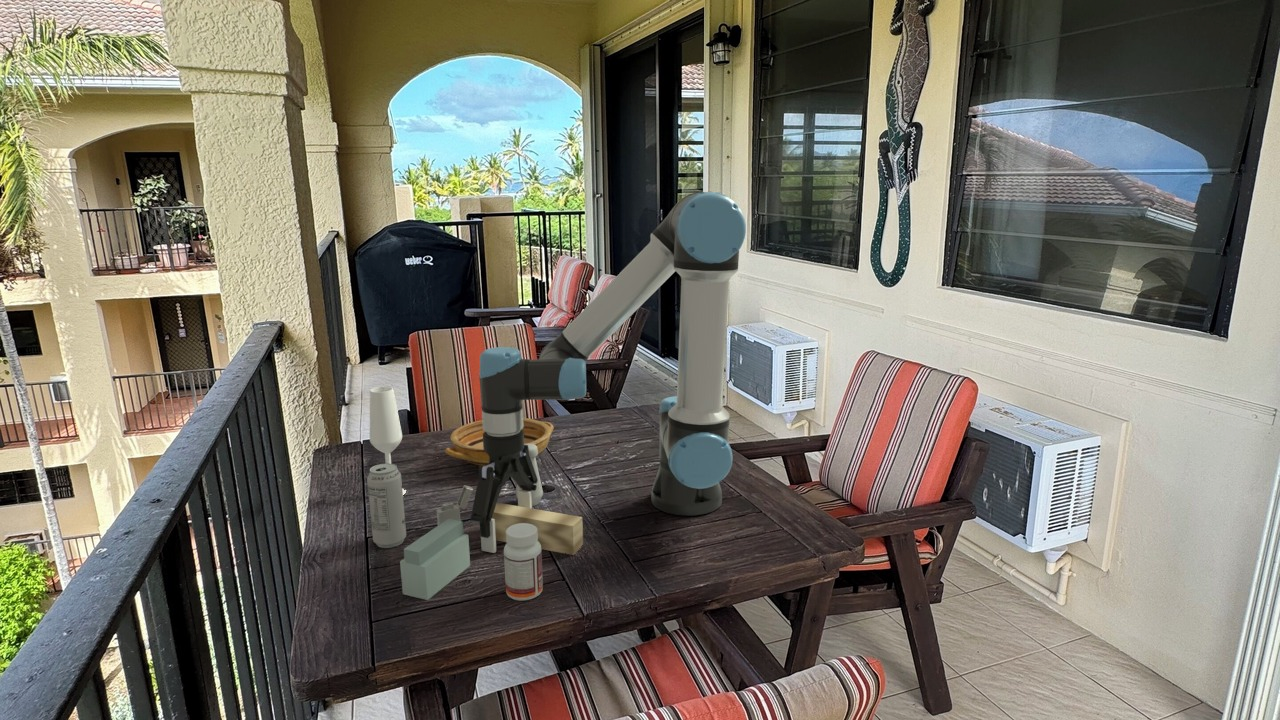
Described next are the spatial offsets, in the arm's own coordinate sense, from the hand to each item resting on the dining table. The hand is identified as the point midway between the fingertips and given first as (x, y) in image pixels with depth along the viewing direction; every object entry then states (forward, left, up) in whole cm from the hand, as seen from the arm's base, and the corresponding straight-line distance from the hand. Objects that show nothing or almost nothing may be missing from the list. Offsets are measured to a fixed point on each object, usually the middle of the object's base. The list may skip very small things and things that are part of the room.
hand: (508, 535), depth 140 cm
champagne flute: (+35, -8, 0) cm, 36 cm away
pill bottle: (-13, +16, 0) cm, 21 cm away
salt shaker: (+4, -15, 0) cm, 16 cm away
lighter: (+12, 0, 0) cm, 12 cm away
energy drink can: (+20, +10, 0) cm, 22 cm away
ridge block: (+3, +18, 0) cm, 18 cm away
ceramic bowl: (+22, -33, 0) cm, 40 cm away
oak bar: (-5, 0, 0) cm, 5 cm away
